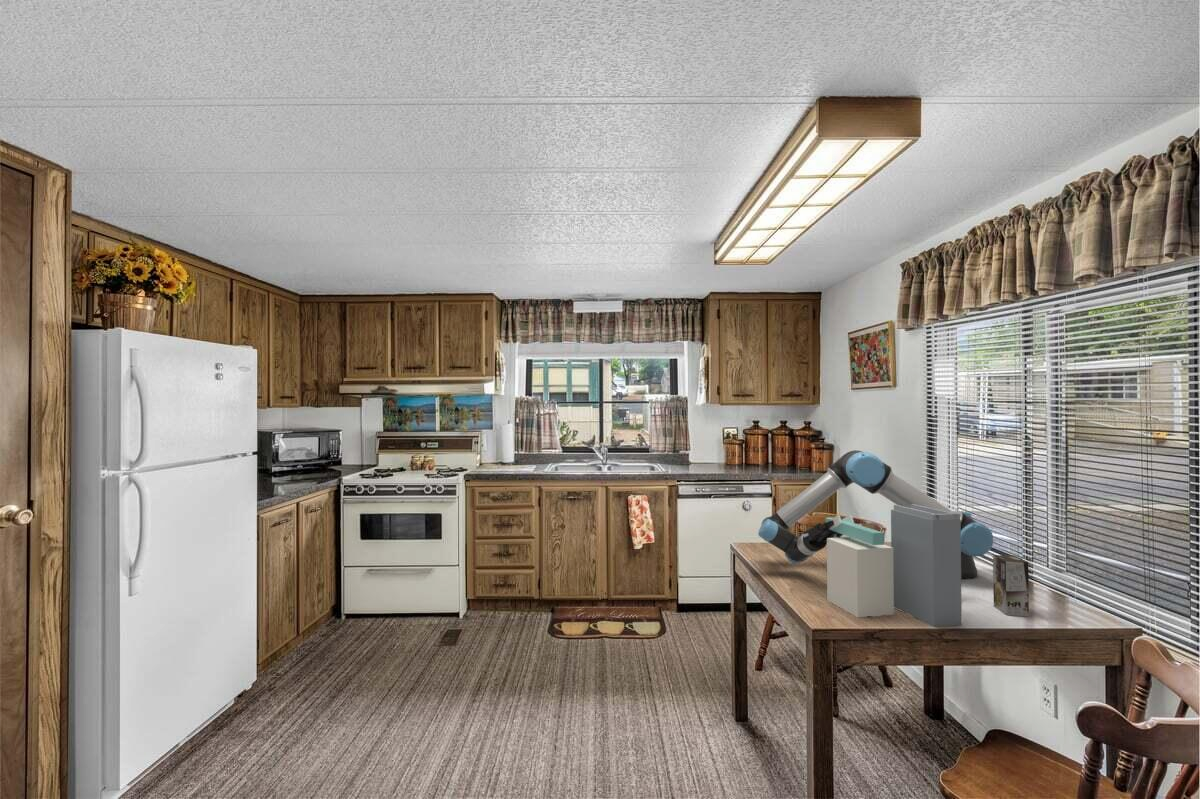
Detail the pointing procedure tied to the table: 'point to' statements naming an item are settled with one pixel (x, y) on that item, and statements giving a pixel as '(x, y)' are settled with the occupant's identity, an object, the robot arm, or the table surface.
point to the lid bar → (859, 532)
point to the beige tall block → (860, 577)
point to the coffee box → (1011, 585)
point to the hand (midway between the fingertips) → (845, 518)
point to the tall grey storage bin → (927, 564)
